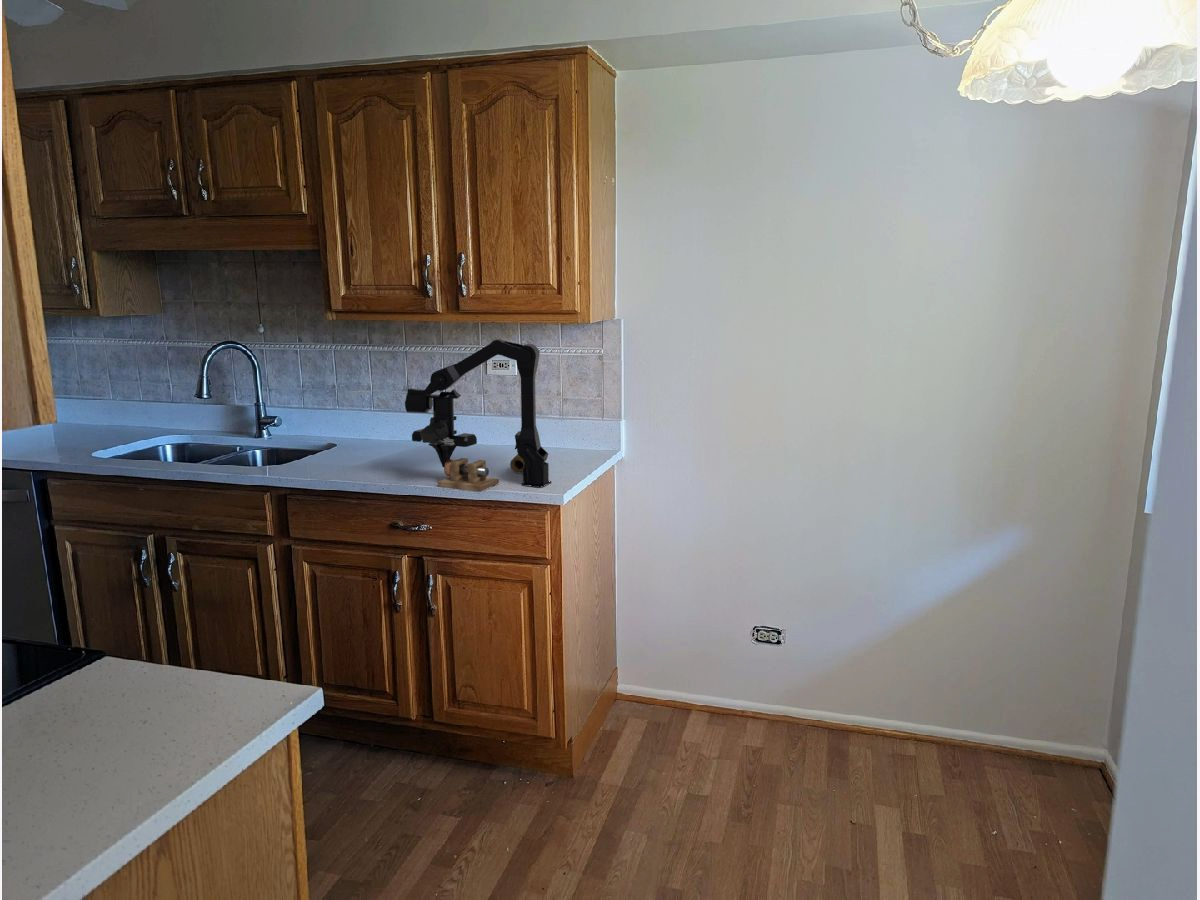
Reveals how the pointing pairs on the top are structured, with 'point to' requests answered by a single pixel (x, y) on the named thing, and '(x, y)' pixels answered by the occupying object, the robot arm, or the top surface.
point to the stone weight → (517, 464)
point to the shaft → (464, 469)
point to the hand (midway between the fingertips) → (444, 467)
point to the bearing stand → (467, 477)
